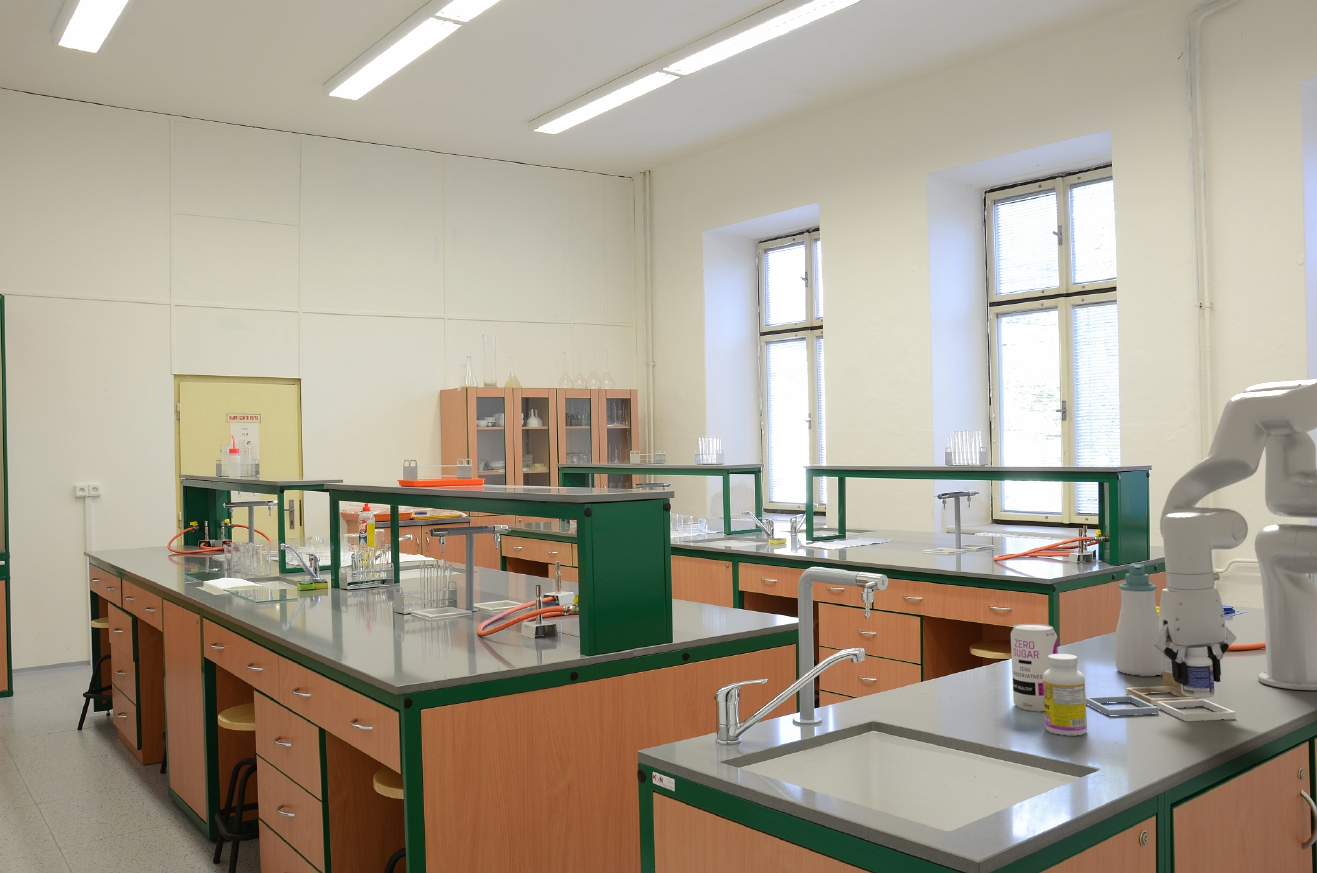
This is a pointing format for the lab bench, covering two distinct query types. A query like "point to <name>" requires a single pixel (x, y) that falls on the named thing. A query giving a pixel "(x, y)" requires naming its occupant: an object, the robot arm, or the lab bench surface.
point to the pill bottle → (1198, 673)
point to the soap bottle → (1137, 626)
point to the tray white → (1217, 715)
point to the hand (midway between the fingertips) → (1197, 680)
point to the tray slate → (1125, 711)
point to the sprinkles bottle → (1168, 671)
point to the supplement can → (1031, 663)
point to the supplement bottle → (1064, 696)
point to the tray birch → (1137, 691)
